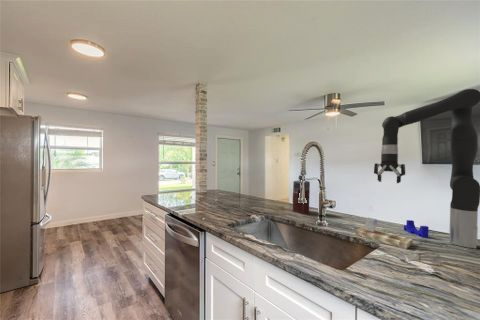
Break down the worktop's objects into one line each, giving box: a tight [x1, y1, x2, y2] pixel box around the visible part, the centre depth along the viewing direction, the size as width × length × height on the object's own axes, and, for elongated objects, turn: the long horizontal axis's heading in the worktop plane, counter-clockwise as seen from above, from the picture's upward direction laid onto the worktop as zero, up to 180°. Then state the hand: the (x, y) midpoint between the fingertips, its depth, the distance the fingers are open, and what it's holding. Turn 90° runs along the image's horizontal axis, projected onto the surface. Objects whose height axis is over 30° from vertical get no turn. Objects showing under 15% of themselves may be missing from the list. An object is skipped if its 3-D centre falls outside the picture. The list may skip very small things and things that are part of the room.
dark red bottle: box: [292, 174, 311, 215], centre depth 160 cm, size 9×11×28 cm
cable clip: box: [403, 219, 429, 239], centre depth 117 cm, size 12×4×6 cm, turn 175°
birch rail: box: [354, 226, 413, 250], centre depth 107 cm, size 22×10×3 cm, turn 39°
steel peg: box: [364, 217, 378, 233], centre depth 112 cm, size 4×4×9 cm
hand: (388, 182), depth 118 cm, fingers open, 8 cm apart
